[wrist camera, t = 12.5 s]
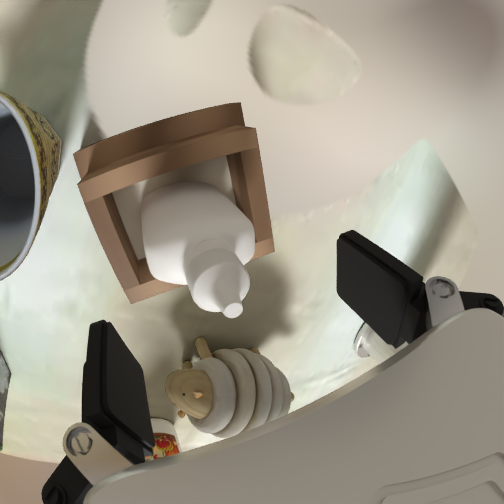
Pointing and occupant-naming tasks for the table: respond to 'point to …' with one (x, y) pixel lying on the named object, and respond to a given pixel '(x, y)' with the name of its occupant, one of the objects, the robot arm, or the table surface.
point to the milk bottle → (163, 439)
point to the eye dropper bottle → (199, 244)
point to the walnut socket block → (168, 172)
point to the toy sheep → (229, 390)
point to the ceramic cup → (23, 178)
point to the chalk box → (3, 394)
